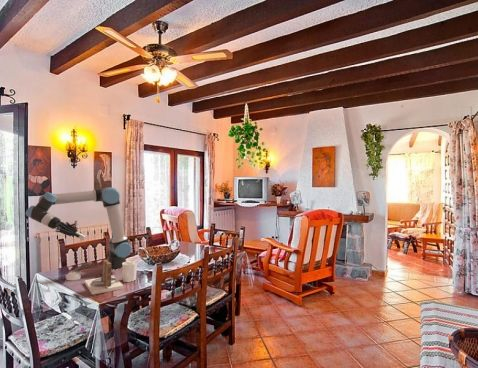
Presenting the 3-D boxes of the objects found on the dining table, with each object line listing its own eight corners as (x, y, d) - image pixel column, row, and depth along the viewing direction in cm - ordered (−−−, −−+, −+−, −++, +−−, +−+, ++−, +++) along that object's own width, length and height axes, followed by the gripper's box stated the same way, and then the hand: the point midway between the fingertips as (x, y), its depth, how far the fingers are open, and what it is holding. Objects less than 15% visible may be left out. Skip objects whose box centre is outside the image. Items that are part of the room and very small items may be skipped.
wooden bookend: (89, 281, 188) (89, 258, 188) (111, 277, 197) (112, 255, 197) (96, 290, 173) (97, 265, 173) (121, 285, 182) (121, 262, 182)
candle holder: (118, 280, 198) (119, 263, 198) (131, 276, 206) (131, 260, 206) (127, 283, 193) (127, 265, 193) (139, 279, 201) (140, 262, 201)
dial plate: (113, 278, 202) (113, 275, 202) (123, 288, 183) (123, 285, 183) (84, 283, 191) (84, 280, 191) (92, 294, 172) (92, 291, 172)
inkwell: (65, 277, 202) (66, 263, 202) (94, 273, 212) (94, 260, 212) (66, 281, 194) (66, 266, 194) (96, 277, 204) (96, 263, 204)
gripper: (54, 222, 197) (86, 239, 200) (42, 229, 184) (77, 246, 188) (59, 213, 196) (91, 230, 199) (47, 219, 183) (82, 237, 187)
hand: (84, 238), depth 193 cm, fingers closed
